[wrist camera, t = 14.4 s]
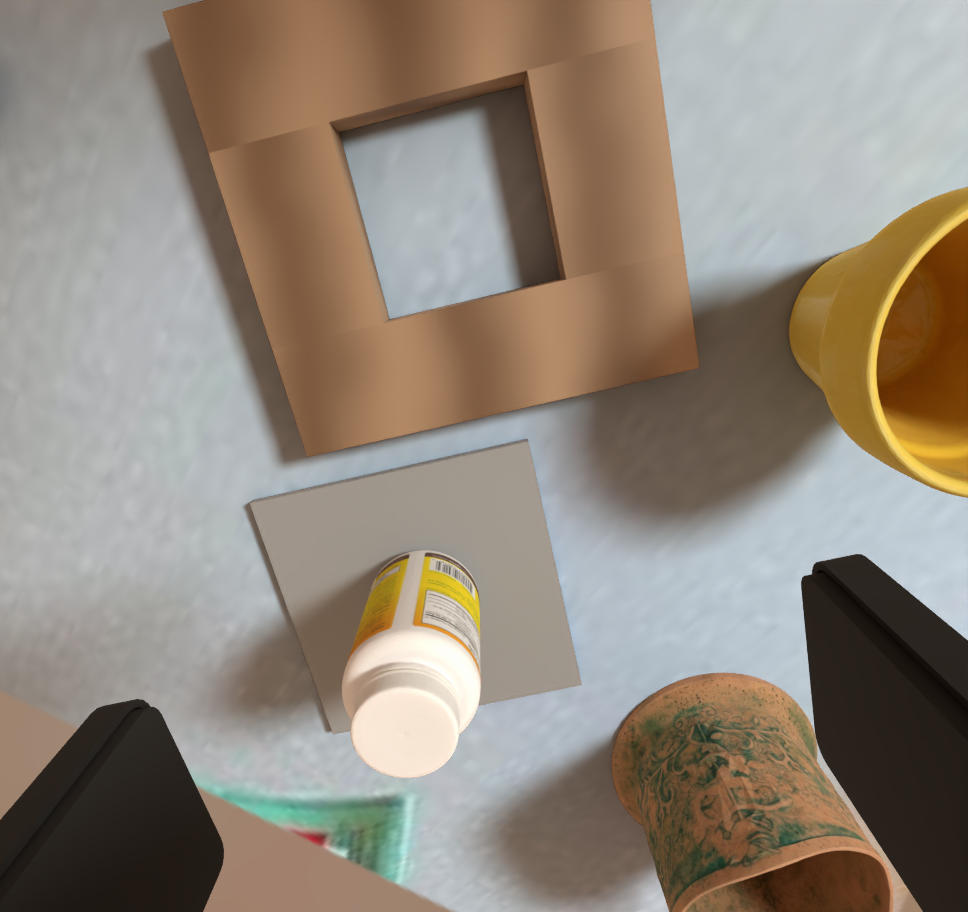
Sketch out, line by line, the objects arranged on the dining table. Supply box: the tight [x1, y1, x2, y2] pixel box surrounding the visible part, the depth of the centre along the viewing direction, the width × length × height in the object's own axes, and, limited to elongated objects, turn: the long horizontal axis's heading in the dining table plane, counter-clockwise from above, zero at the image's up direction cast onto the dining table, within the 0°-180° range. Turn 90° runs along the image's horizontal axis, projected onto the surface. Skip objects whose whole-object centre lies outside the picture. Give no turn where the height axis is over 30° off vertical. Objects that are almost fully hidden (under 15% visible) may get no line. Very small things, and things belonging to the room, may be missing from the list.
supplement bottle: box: [342, 550, 481, 778], centre depth 28 cm, size 6×6×10 cm
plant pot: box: [789, 187, 968, 498], centre depth 25 cm, size 10×10×10 cm
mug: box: [612, 673, 893, 912], centre depth 32 cm, size 12×18×12 cm, turn 25°
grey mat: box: [250, 439, 582, 734], centre depth 33 cm, size 14×14×1 cm
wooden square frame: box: [163, 0, 699, 457], centre depth 27 cm, size 18×18×2 cm
